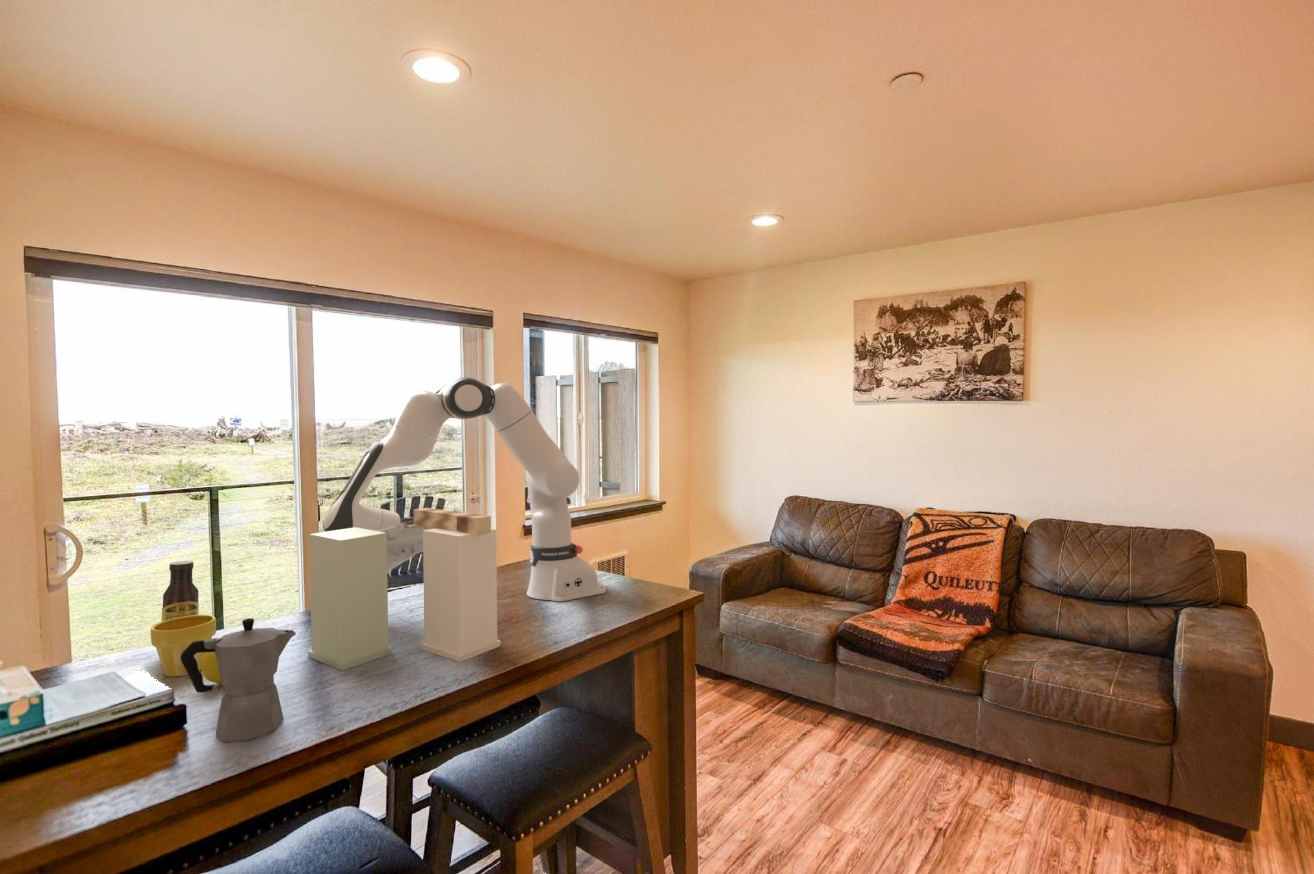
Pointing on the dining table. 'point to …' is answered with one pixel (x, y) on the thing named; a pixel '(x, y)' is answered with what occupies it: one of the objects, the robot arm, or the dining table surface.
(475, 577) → the white pedestal
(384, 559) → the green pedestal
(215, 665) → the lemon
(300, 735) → the dining table surface
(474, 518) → the beech block
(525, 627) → the dining table surface
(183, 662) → the coffeepot
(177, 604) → the sauce bottle
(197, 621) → the plant pot
